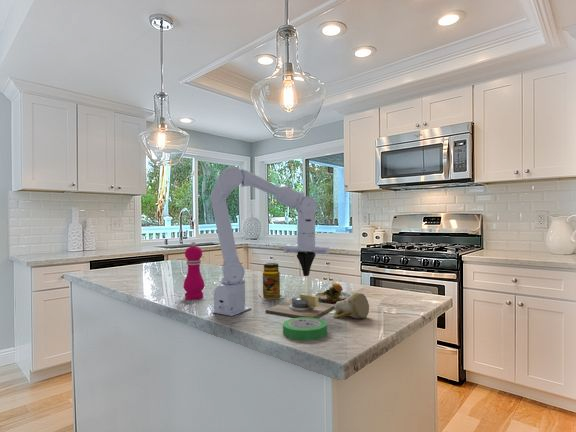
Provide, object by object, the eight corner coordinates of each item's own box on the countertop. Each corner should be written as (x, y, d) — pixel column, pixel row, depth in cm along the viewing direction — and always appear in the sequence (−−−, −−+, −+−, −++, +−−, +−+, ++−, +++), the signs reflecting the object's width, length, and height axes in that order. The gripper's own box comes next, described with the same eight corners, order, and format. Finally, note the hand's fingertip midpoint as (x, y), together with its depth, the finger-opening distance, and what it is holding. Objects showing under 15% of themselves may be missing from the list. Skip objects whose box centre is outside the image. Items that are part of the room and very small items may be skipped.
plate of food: (325, 295, 135) (325, 274, 135) (355, 298, 129) (355, 277, 129) (309, 302, 125) (309, 280, 125) (342, 306, 119) (341, 283, 119)
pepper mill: (199, 300, 127) (198, 242, 126) (179, 300, 128) (179, 242, 128) (207, 296, 134) (207, 241, 134) (189, 295, 135) (188, 240, 135)
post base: (312, 320, 103) (312, 316, 103) (265, 312, 111) (265, 308, 111) (335, 307, 117) (335, 303, 117) (292, 301, 125) (292, 297, 125)
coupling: (287, 305, 114) (287, 294, 114) (300, 301, 118) (300, 290, 118) (310, 310, 108) (310, 298, 108) (322, 306, 112) (322, 294, 112)
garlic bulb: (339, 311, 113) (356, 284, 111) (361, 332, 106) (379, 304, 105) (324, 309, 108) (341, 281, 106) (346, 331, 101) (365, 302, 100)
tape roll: (274, 335, 91) (274, 325, 91) (297, 324, 101) (297, 314, 100) (313, 344, 85) (312, 333, 85) (334, 331, 94) (334, 321, 94)
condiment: (264, 300, 127) (263, 265, 127) (258, 295, 135) (258, 262, 135) (284, 298, 129) (284, 264, 129) (277, 293, 137) (277, 261, 137)
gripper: (280, 233, 117) (281, 276, 117) (325, 234, 112) (325, 278, 112) (287, 232, 124) (287, 272, 124) (330, 233, 119) (330, 275, 119)
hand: (306, 275), depth 119 cm, fingers closed
